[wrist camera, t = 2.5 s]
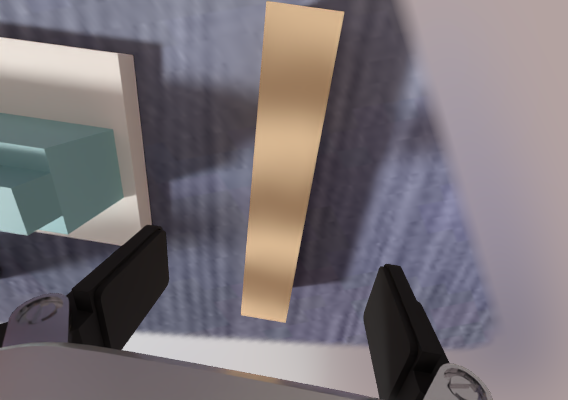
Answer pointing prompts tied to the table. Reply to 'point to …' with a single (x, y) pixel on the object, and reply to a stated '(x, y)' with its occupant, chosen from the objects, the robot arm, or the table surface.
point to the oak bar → (286, 148)
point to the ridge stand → (70, 143)
